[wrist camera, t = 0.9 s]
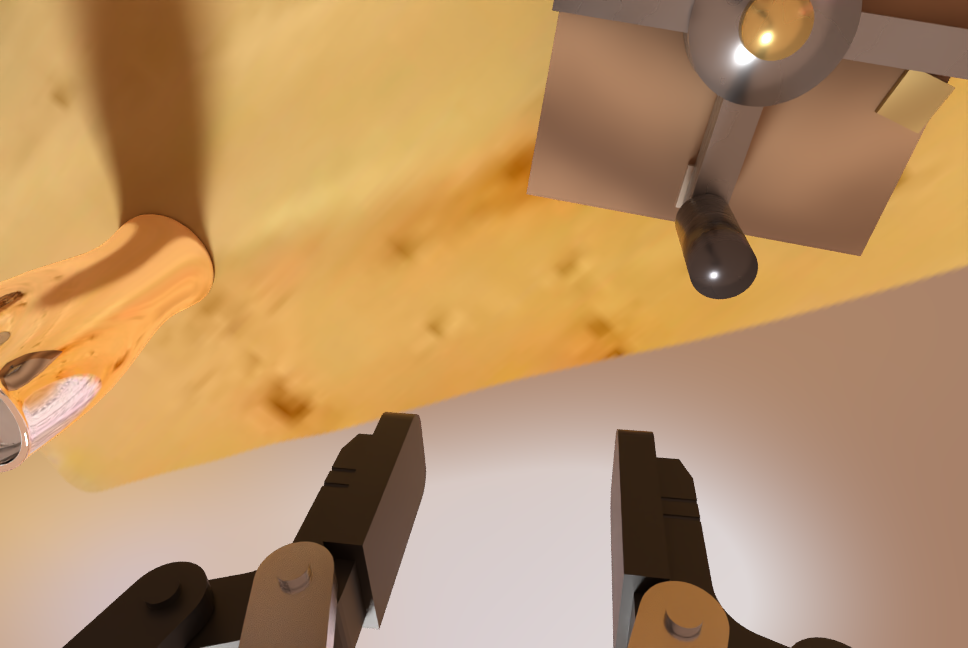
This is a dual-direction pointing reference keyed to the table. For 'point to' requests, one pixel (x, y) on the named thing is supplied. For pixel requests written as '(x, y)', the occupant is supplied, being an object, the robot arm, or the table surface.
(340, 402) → the table surface
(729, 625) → the robot arm
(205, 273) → the beer glass
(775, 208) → the stand
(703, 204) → the capstan
